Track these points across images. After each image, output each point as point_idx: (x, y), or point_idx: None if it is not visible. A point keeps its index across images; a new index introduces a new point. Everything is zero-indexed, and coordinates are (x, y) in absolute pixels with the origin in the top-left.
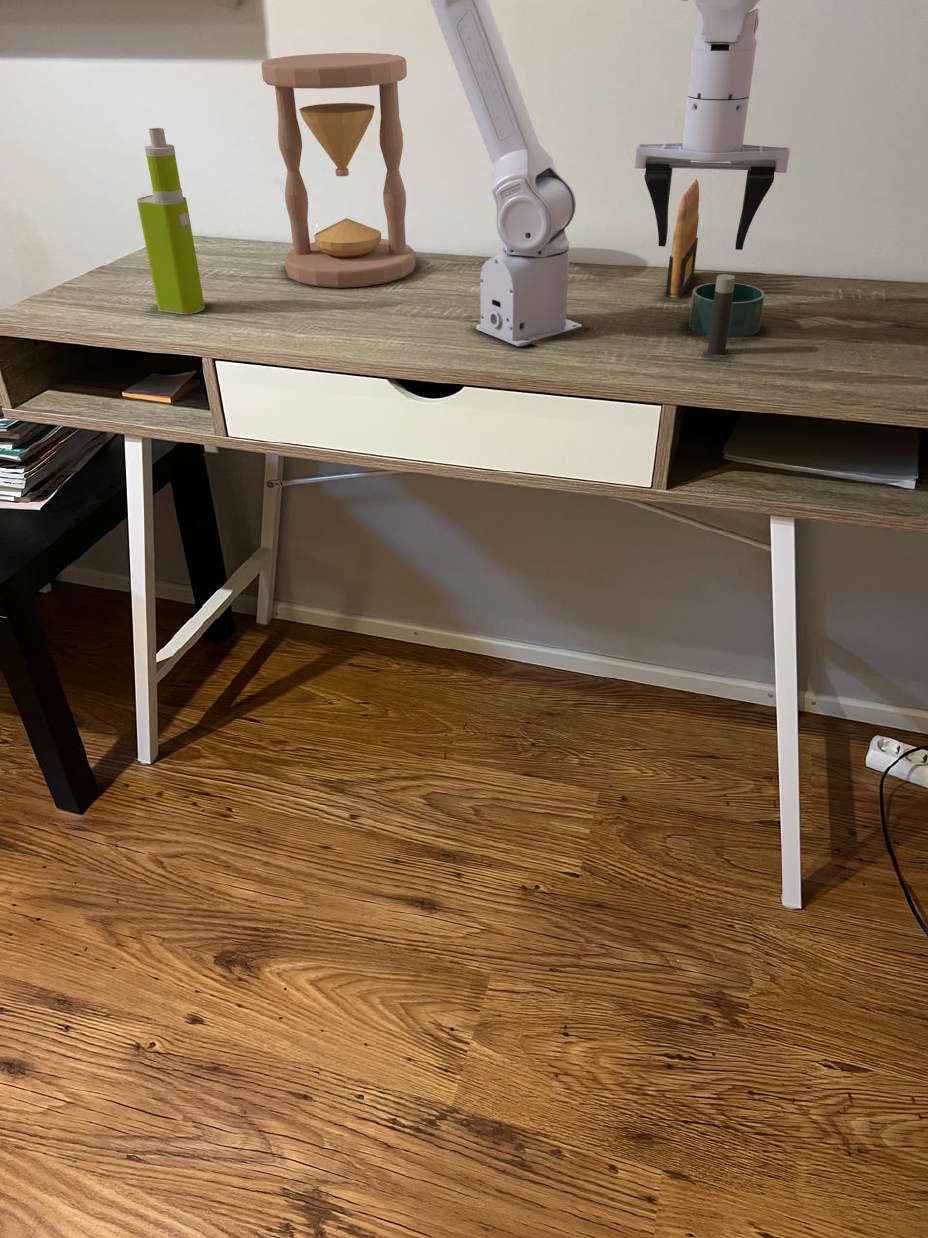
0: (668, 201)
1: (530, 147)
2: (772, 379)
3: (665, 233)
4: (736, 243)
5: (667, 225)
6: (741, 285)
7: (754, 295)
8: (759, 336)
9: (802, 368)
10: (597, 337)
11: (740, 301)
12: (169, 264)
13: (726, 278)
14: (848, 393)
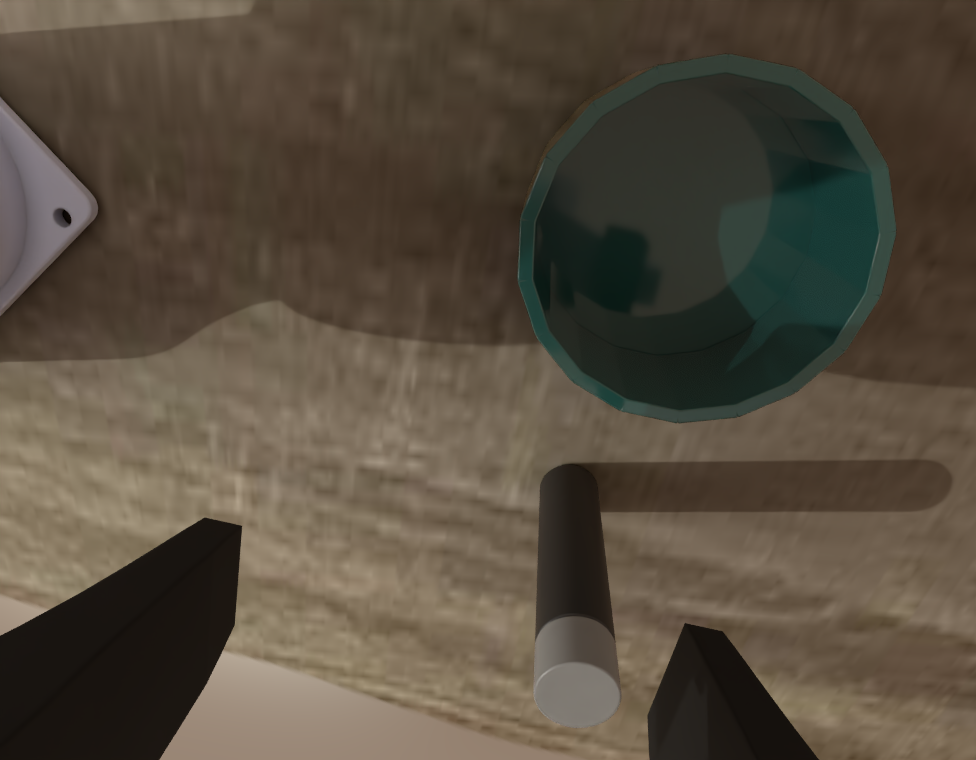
0: (65, 749)
1: None
2: None
3: (190, 702)
4: (651, 755)
5: (187, 607)
6: (821, 110)
7: (857, 186)
8: None
9: (813, 597)
10: (171, 286)
11: (797, 114)
12: None
13: (571, 720)
14: (857, 752)
